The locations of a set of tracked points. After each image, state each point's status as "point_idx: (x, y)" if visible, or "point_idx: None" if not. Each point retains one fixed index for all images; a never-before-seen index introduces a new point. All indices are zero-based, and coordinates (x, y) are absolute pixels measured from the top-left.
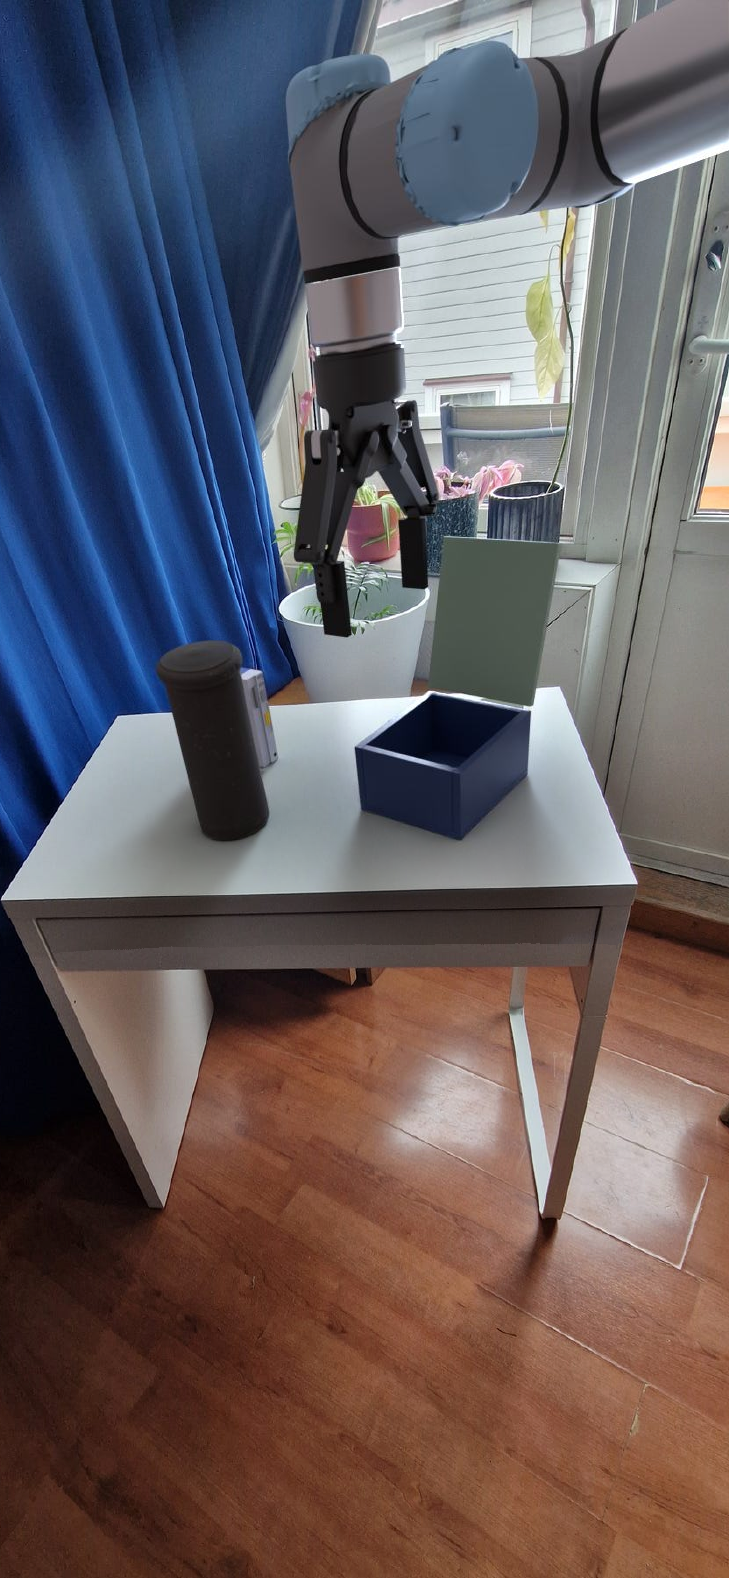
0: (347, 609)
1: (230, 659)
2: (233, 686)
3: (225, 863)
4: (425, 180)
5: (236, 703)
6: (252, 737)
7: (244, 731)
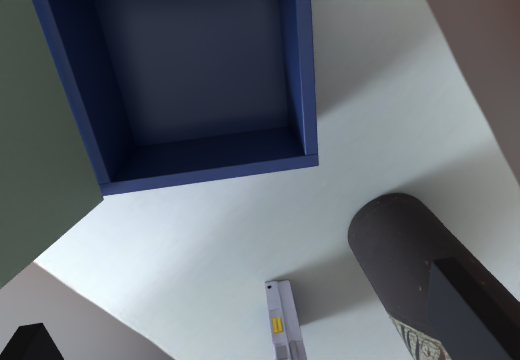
0: (488, 317)
1: None
2: None
3: (454, 176)
4: None
5: None
6: (416, 271)
7: None
